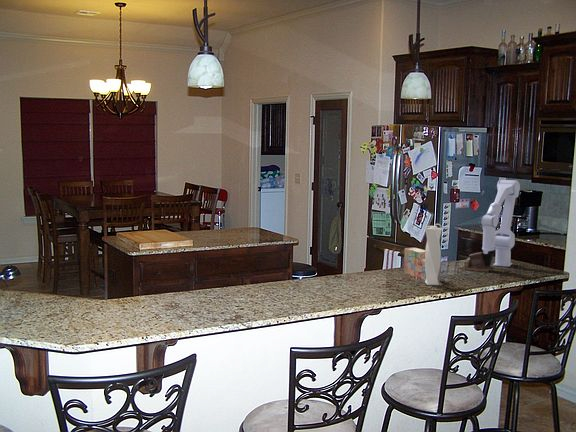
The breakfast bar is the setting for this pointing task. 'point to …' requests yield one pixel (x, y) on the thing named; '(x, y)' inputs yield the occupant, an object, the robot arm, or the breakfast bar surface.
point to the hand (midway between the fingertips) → (487, 266)
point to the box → (477, 260)
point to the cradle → (469, 267)
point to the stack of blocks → (415, 262)
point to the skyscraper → (433, 255)
